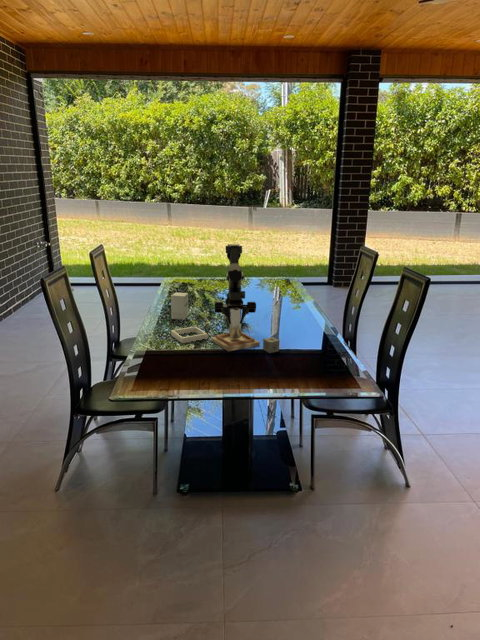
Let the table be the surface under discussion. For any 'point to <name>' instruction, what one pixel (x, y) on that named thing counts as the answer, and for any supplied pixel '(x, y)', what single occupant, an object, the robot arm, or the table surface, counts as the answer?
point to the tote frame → (190, 338)
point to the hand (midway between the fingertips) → (235, 323)
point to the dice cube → (271, 345)
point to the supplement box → (179, 306)
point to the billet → (235, 323)
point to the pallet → (234, 342)
